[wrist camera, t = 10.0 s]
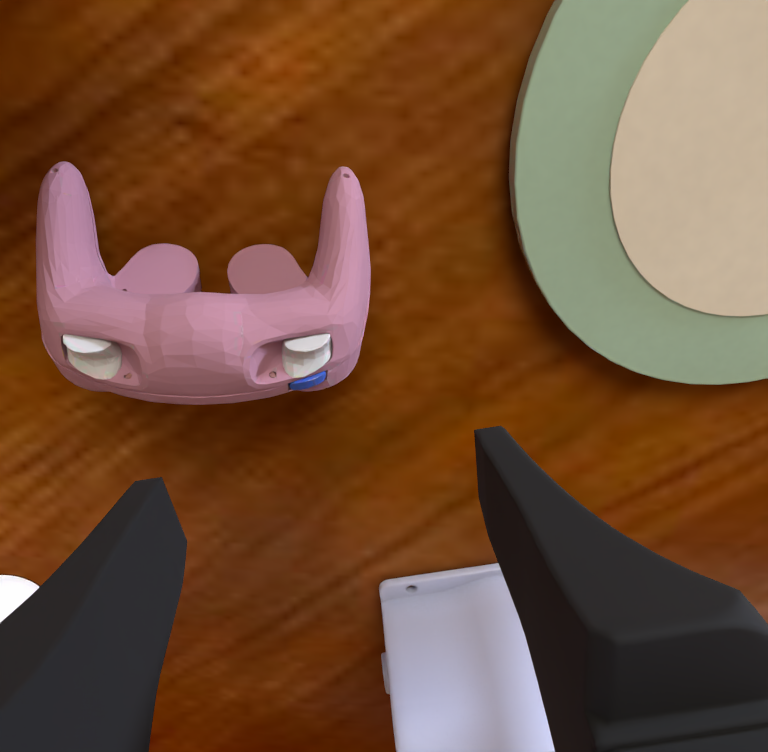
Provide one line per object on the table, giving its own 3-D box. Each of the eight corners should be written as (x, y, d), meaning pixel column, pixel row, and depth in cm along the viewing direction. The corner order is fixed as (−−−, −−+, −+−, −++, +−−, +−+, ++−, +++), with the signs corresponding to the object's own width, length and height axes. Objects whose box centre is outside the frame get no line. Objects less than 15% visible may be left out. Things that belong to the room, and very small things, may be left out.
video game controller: (83, 251, 23) (41, 428, 20) (35, 145, 19) (-30, 340, 16) (363, 253, 24) (372, 422, 21) (370, 151, 20) (382, 338, 17)
